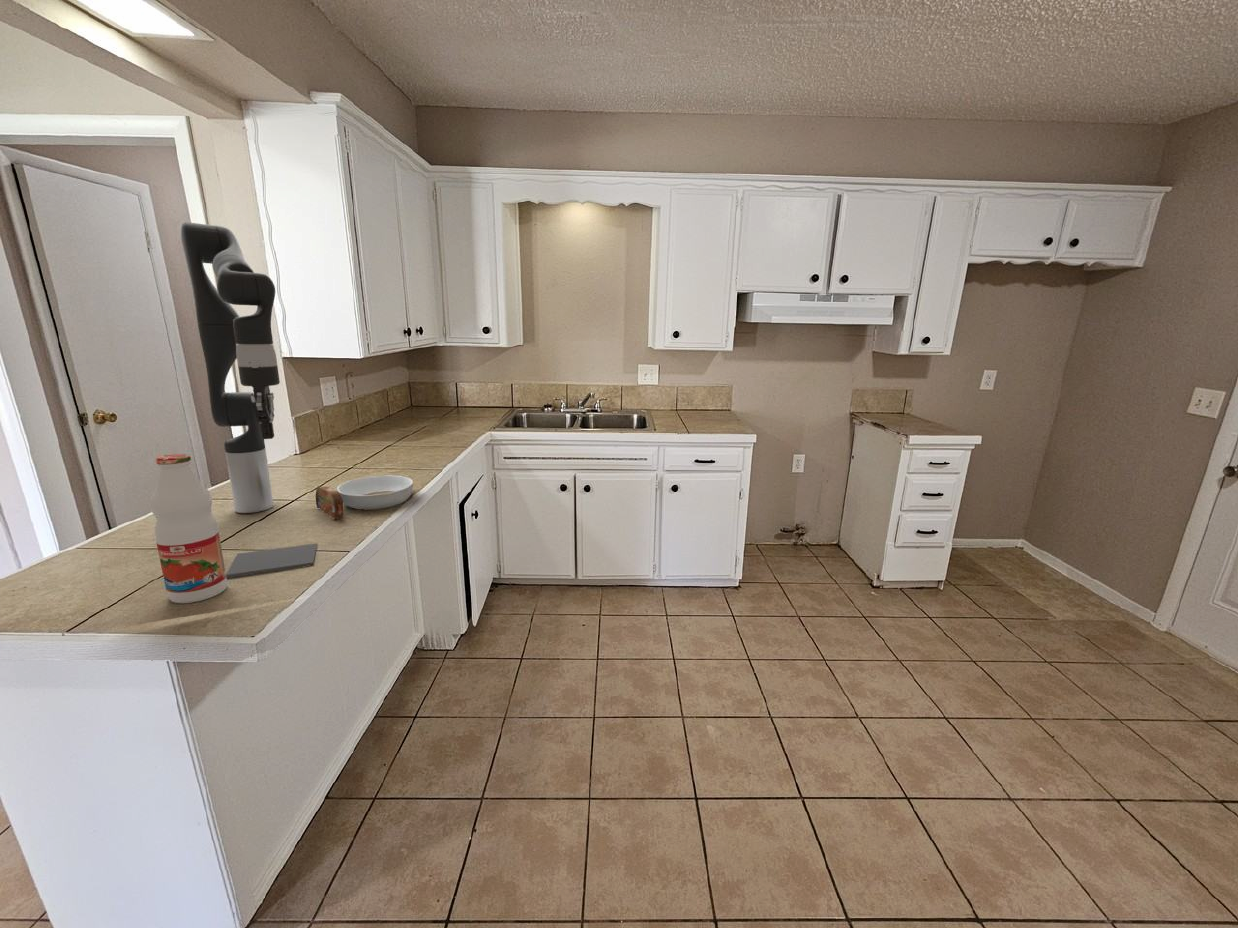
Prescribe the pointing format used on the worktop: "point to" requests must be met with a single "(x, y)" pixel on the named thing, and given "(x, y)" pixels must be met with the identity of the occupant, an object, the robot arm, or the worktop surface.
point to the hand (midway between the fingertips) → (268, 438)
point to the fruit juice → (186, 533)
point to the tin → (330, 502)
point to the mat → (272, 560)
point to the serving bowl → (359, 487)
